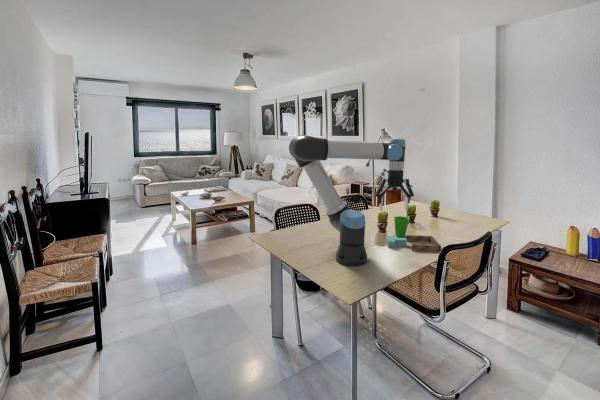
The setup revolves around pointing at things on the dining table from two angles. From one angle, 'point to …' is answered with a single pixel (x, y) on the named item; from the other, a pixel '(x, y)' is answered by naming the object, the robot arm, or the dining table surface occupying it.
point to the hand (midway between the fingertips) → (393, 209)
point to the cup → (401, 225)
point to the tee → (395, 241)
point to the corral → (416, 247)
